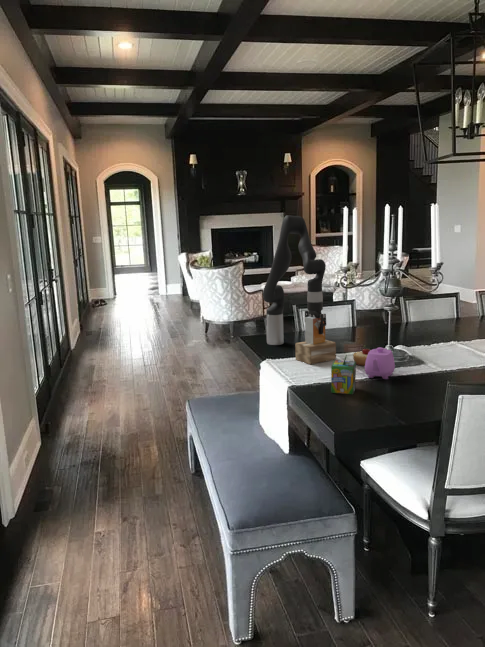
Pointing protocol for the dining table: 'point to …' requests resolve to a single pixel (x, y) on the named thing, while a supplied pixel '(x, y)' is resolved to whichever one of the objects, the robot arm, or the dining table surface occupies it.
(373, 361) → the teapot
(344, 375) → the chalk box
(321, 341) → the small box
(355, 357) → the pastry
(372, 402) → the dining table surface
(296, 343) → the lid
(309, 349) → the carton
